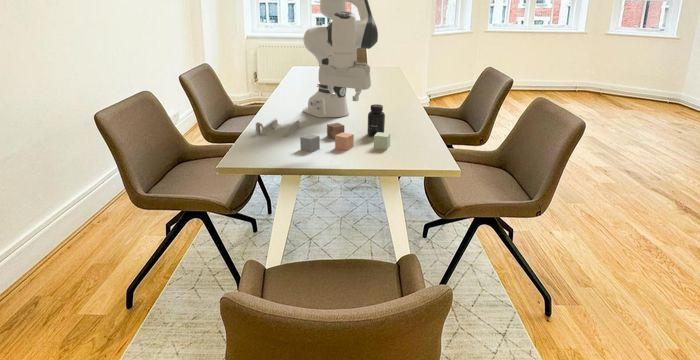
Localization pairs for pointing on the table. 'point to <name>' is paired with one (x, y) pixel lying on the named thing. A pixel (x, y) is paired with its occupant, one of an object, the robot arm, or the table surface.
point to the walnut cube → (334, 129)
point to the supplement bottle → (376, 120)
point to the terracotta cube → (344, 141)
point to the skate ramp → (273, 126)
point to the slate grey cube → (310, 142)
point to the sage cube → (381, 140)
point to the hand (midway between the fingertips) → (344, 99)
